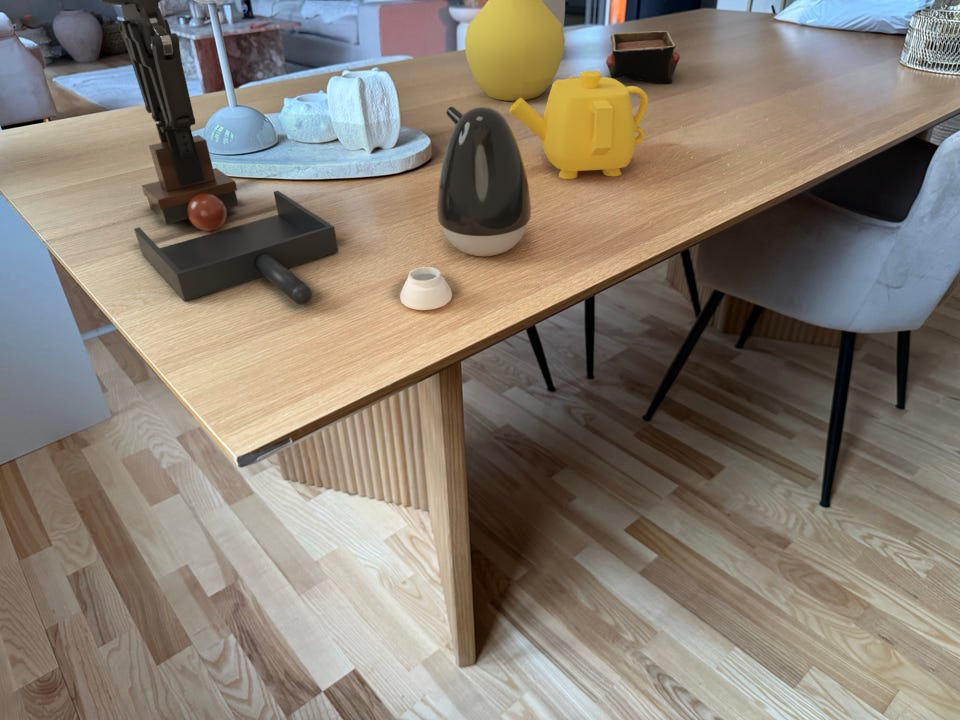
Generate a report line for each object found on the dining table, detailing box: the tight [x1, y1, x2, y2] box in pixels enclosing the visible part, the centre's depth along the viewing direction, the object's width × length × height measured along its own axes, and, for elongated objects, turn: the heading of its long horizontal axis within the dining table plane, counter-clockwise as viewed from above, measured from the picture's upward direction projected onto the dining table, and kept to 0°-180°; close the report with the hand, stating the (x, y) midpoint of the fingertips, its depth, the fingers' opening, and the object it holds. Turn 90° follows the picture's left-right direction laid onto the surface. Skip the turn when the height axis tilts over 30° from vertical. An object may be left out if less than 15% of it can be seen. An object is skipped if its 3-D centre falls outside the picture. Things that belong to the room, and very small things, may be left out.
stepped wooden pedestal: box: [141, 134, 239, 225], centre depth 85 cm, size 6×9×8 cm
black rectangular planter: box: [605, 30, 681, 85], centre depth 141 cm, size 14×18×10 cm
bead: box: [187, 193, 228, 232], centre depth 84 cm, size 4×4×4 cm
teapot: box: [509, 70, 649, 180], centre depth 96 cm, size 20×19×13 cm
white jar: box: [399, 266, 453, 311], centre depth 68 cm, size 5×3×5 cm
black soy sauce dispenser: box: [436, 106, 532, 257], centre depth 74 cm, size 10×10×15 cm
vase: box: [464, 0, 566, 102], centre depth 125 cm, size 18×18×30 cm
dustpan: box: [133, 190, 339, 305], centre depth 74 cm, size 25×17×3 cm
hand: (187, 178), depth 85 cm, fingers closed on stepped wooden pedestal, 2 cm apart
